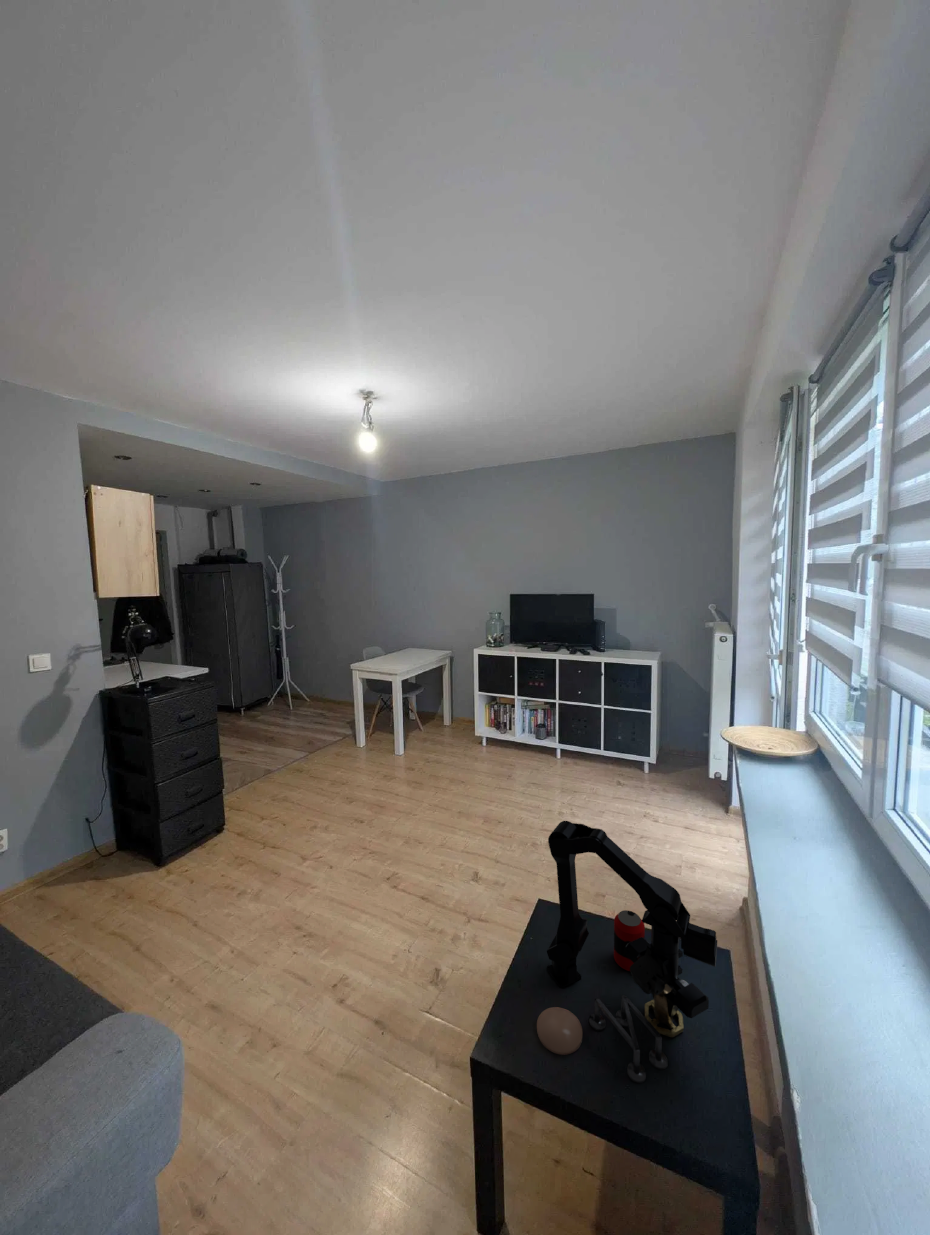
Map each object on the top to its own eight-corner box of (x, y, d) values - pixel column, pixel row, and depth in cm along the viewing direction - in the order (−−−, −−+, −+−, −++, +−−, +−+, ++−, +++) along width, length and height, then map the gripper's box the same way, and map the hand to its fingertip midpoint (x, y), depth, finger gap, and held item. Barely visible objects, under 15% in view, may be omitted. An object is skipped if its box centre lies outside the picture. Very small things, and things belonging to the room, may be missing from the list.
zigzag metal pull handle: (585, 1019, 107) (585, 995, 106) (618, 1002, 111) (618, 980, 110) (636, 1086, 93) (636, 1059, 92) (671, 1064, 97) (671, 1038, 96)
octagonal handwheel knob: (637, 1011, 108) (637, 983, 107) (662, 997, 111) (662, 970, 111) (664, 1042, 101) (665, 1012, 100) (690, 1026, 104) (691, 998, 103)
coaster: (528, 1021, 107) (528, 1017, 106) (564, 1004, 111) (564, 1000, 111) (553, 1062, 97) (553, 1058, 97) (591, 1042, 102) (591, 1038, 101)
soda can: (646, 955, 124) (646, 913, 123) (641, 977, 118) (642, 933, 117) (616, 945, 128) (617, 904, 127) (611, 965, 121) (611, 922, 120)
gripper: (608, 928, 110) (607, 989, 111) (672, 991, 93) (671, 1062, 94) (643, 913, 114) (642, 971, 116) (711, 971, 97) (709, 1039, 99)
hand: (663, 1008), depth 106 cm, fingers closed on octagonal handwheel knob, 4 cm apart
